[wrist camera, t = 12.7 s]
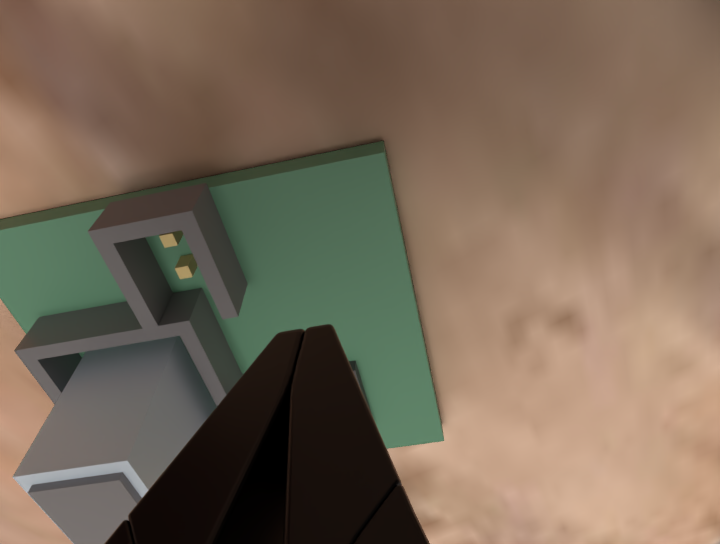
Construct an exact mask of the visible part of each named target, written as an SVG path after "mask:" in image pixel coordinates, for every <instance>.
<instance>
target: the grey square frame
mask: <svg viewBox="0 0 720 544" xmlns="http://www.w3.org/2000/svg"><path fill="white" fill-rule="evenodd" d="M175 336H180V337H181V339H182V341H183V342H184V344H185V346H186V348H187V350H188V352H189V354H190V356H191V358H192V360H193V362H194V363H195V365H196V367H197V369H198V371H199V373H200V375H201V377H202V379H203V381H204V383H205V384H206V386H207V388H208V390H209V392H210V394H211V396H212V398H213V400H214V402H215V404H216V405H217V406H218V405H219V403H220V402H221V401H222V400H223V398H224V397H225V396H226V395H227V394H228V392H229V391H230V390H231V389H232V387H233V386H234V385H235V384H236V383H237V381H238V380H239V379H240V378H241V376H242V373H241V370H240V368H239V366H238V364H237V362H236V360H235V358H234V355H233V353H232V351H231V349H230V347H229V345H228V342H227V340H226V338H225V336H224V334H223V332H222V330H221V327H220V325H219V323H218V321H217V319H216V317H215V315H214V312H213V310H212V308H211V306H210V304H209V302H208V300H207V297H206V295H205V293H204V291H203V289H202V288H198V289H192V290H187V291H181V292H176V293H173V294H172V297H171V299H170V301H169V303H168V305H167V307H166V310H165V312H164V314H163V316H162V318H161V321H160V323H159V325H158V326H155V327H149V328H142V327H141V325H140V323H139V321H138V320H137V318H136V316H135V314H134V313H133V311H132V309H131V307H130V305H129V304H128V302H127V301H125V302H120V303H114V304H109V305H103V306H98V307H92V308H86V309H81V310H75V311H70V312H64V313H59V314H53V315H47V316H42V317H39V318H38V319H37V320H36V322H35V323H34V325H33V326H32V327H31V329H30V330H29V331H28V333H27V334H26V335H25V337H24V338H23V339H22V341H21V342H20V344H19V345H18V346H17V348H16V349H15V350H14V351H15V352H16V354H17V355H18V356H19V358H20V359H21V360H22V362H23V363H24V364H25V366H26V367H27V368H28V370H29V371H30V372H31V374H32V375H33V376H34V378H35V379H36V380H37V382H38V383H39V384H40V386H41V387H42V388H43V390H44V391H45V392H46V393H47V395H48V396H49V397H50V399H51V400H52V401H53V403H54V404H56V402H57V400H58V399H59V397H60V395H61V393H62V392H63V390H64V388H65V387H66V385H67V383H68V381H69V380H70V378H71V376H72V375H73V373H74V371H75V369H76V368H77V366H78V364H79V363H80V361H81V359H82V358H81V356H80V355H79V353H80V352H86V351H92V350H98V349H104V348H110V347H116V346H122V345H127V344H133V343H139V342H145V341H151V340H157V339H163V338H169V337H175Z"/></svg>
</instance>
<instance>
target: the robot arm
mask: <svg viewBox="0 0 720 544" xmlns="http://www.w3.org/2000/svg"><path fill="white" fill-rule="evenodd" d="M128 520H129V521H128ZM128 520H124V521H123V522H122V523H121V524H120V525H119V526H118V528H117V529H116V530H115V531H114V532H113V534H112V535H111V536H110V537H109V539H108V540H107V541H106V542H105V543H104V544H430V543H429V541H428V539H427V537H426V535H425V533H424V531H423V529H422V527H421V525H420V522H419V520H418V518H417V516H416V514H415V512H414V510H413V508H412V505H411V503H410V501H409V498H408V496H407V494H406V491H405V489H404V487H403V486H402V484H401V481H400V478H399V476H398V474H397V471H396V469H395V467H394V465H393V462H392V460H391V458H390V455H389V453H388V451H387V448H386V446H385V444H384V441H383V439H382V437H381V435H380V432H379V430H378V428H377V425H376V423H375V421H374V418H373V416H372V414H371V412H370V409H369V407H368V405H367V402H366V400H365V398H364V395H363V393H362V391H361V388H360V386H359V384H358V382H357V379H356V377H355V375H354V372H353V370H352V368H351V365H350V363H349V361H348V358H347V356H346V354H345V352H344V349H343V347H342V345H341V342H340V340H339V338H338V335H337V333H336V331H335V329H334V327H333V325H331V324H325V325H319V326H313V327H309V328H307V329H306V330H303V329H295V330H289V331H283V332H279V333H277V334H276V335H275V336H274V337H273V339H272V340H271V341H270V342H269V343H268V345H267V346H266V347H265V348H264V350H263V351H262V352H261V353H260V354H259V356H258V357H257V358H256V359H255V361H254V362H253V363H252V364H251V365H250V367H249V368H248V369H247V370H246V372H245V373H244V374H243V375H242V376H241V378H240V379H239V380H238V381H237V383H236V384H235V385H234V386H233V387H232V389H231V390H230V391H229V392H228V394H227V395H226V396H225V397H224V398H223V400H222V401H221V402H220V403H219V405H218V406H217V407H216V408H215V409H214V411H213V412H212V413H211V414H210V416H209V417H208V418H207V419H206V420H205V422H204V423H203V424H202V425H201V427H200V428H199V429H198V430H197V431H196V433H195V434H194V435H193V436H192V438H191V439H190V440H189V441H188V442H187V444H186V445H185V446H184V447H183V449H182V450H181V451H180V452H179V453H178V455H177V456H176V457H175V458H174V460H173V461H172V462H171V463H170V464H169V466H168V467H167V468H166V469H165V470H164V472H163V473H162V474H161V475H160V477H159V478H158V479H157V480H156V481H155V483H154V484H153V485H152V486H151V488H150V489H149V490H148V491H147V492H146V494H145V495H144V496H143V497H142V499H141V500H140V501H139V502H138V503H137V505H136V506H135V507H134V508H133V510H132V511H131V512H130V513H129V515H128Z"/></svg>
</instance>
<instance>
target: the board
mask: <svg viewBox="0 0 720 544" xmlns="http://www.w3.org/2000/svg"><path fill="white" fill-rule="evenodd" d="M198 288H202V289H203V291H204V293H205V295H206V297H207V300H208V302H209V304H210V306H211V308H212V310H213V312H214V315H215V317H216V319H217V321H218V323H219V325H220V327H221V330H222V332H223V334H224V336H225V338H226V340H227V342H228V345H229V347H230V349H231V351H232V353H233V355H234V358H235V360H236V362H237V364H238V366H239V368H240V370H241V373H242V375H243V374H244V373H245V372H246V370H247V369H248V368H249V367H250V365H251V364H252V363H253V362H254V361H255V359H256V358H257V357H258V356H259V354H260V353H261V352H262V351H263V350H264V348H265V347H266V346H267V345H268V343H269V342H270V341H271V340H272V339H273V337H274V336H275V335H276V334H277V333H279V332H283V331H289V330H295V329H303V330H306V329H307V328H309V327H313V326H319V325H325V324H331V325H333V327H334V329H335V331H336V333H337V335H338V338H339V340H340V342H341V345H342V347H343V349H344V352H345V354H346V356H347V358H348V361H349V363H350V365H351V368H352V370H353V372H354V375H355V377H356V379H357V382H358V384H359V386H360V388H361V391H362V393H363V395H364V398H365V400H366V402H367V405H368V407H369V409H370V412H371V414H372V416H373V418H374V421H375V423H376V425H377V428H378V430H379V432H380V435H381V437H382V439H383V441H384V444H385V446H386V448H387V449H388V448H395V447H403V446H410V445H417V444H425V443H432V442H439V441H444V437H443V430H442V423H441V418H440V413H439V408H438V404H437V399H436V394H435V389H434V384H433V379H432V374H431V369H430V365H429V360H428V355H427V350H426V345H425V340H424V335H423V331H422V326H421V321H420V316H419V311H418V306H417V301H416V296H415V292H414V287H413V282H412V277H411V272H410V267H409V262H408V257H407V253H406V248H405V243H404V238H403V233H402V228H401V223H400V219H399V214H398V209H397V204H396V199H395V194H394V189H393V184H392V180H391V175H390V170H389V165H388V160H387V155H386V150H385V145H384V141H380V142H375V143H371V144H366V145H361V146H356V147H351V148H346V149H341V150H336V151H332V152H327V153H322V154H317V155H312V156H307V157H302V158H297V159H293V160H288V161H283V162H278V163H273V164H268V165H263V166H258V167H254V168H249V169H244V170H239V171H234V172H229V173H224V174H219V175H215V176H210V177H205V178H200V179H195V180H190V181H185V182H181V183H176V184H171V185H166V186H161V187H156V188H151V189H146V190H142V191H137V192H132V193H127V194H122V195H117V196H112V197H107V198H103V199H98V200H93V201H88V202H83V203H78V204H73V205H68V206H64V207H59V208H54V209H49V210H44V211H39V212H34V213H29V214H25V215H20V216H15V217H10V218H5V219H0V298H1V300H2V301H3V303H4V304H5V305H6V307H7V308H8V310H9V311H10V312H11V314H12V315H13V316H14V318H15V319H16V321H17V322H18V323H19V325H20V326H21V327H22V329H23V330H24V332H25V333H26V334H27V333H28V331H29V330H30V329H31V327H32V326H33V325H34V323H35V322H36V320H37V319H38V318H39V317H42V316H47V315H53V314H59V313H64V312H70V311H75V310H81V309H86V308H92V307H98V306H103V305H109V304H114V303H120V302H125V301H127V302H128V304H129V305H130V307H131V309H132V311H133V313H134V314H135V316H136V318H137V320H138V321H139V323H140V325H141V327H142V328H149V327H155V326H158V325H159V323H160V321H161V318H162V316H163V314H164V312H165V310H166V307H167V305H168V303H169V301H170V299H171V297H172V294H173V293H176V292H181V291H187V290H192V289H198ZM180 338H181V337H180ZM181 340H182V339H181ZM182 342H183V341H182ZM183 344H184V342H183ZM184 346H185V344H184ZM185 347H186V346H185ZM186 349H187V348H186ZM187 351H188V350H187ZM188 353H189V352H188ZM84 354H85V352H80V353H79V355H80V356H81V358H82V357H83V356H84ZM189 355H190V354H189ZM190 357H191V356H190ZM191 359H192V358H191ZM192 361H193V360H192ZM193 363H194V362H193ZM194 364H195V363H194ZM195 366H196V365H195ZM196 368H197V367H196ZM197 370H198V369H197ZM198 372H199V371H198ZM199 374H200V373H199ZM200 376H201V375H200ZM201 378H202V377H201ZM202 380H203V379H202ZM205 385H206V384H205ZM206 387H207V386H206ZM207 389H208V388H207ZM208 391H209V390H208ZM209 393H210V392H209ZM210 395H211V394H210ZM216 406H217V405H216Z"/></svg>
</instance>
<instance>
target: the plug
mask: <svg viewBox="0 0 720 544" xmlns="http://www.w3.org/2000/svg"><path fill="white" fill-rule="evenodd" d="M216 407H217V406H216V404H215V402H214V400H213V398H212V396H211V395H210V393H209V391H208V389H207V387H206V385H205V383H204V381H203V380H202V378H201V376H200V374H199V372H198V370H197V368H196V366H195V364H194V363H193V361H192V359H191V357H190V355H189V353H188V351H187V349H186V347H185V346H184V344H183V342H182V340H181V338H180V336H175V337H169V338H163V339H157V340H151V341H145V342H139V343H133V344H127V345H122V346H116V347H110V348H104V349H98V350H92V351H86V352H85V354H84V356H83V357H82V359H81V361H80V363H79V364H78V366H77V368H76V369H75V371H74V373H73V375H72V376H71V378H70V380H69V381H68V383H67V385H66V387H65V388H64V390H63V392H62V393H61V395H60V397H59V399H58V400H57V402H56V404H55V405H54V407H53V409H52V410H51V412H50V414H49V416H48V417H47V419H46V421H45V422H44V424H43V426H42V428H41V429H40V431H39V433H38V434H37V436H36V438H35V440H34V441H33V443H32V445H31V446H30V448H29V450H28V452H27V453H26V455H25V457H24V458H23V460H22V462H21V463H20V465H19V467H18V469H17V470H16V472H15V474H14V475H13V478H14V479H15V480H16V481H17V483H18V484H19V485H20V486H21V487H22V488H23V489H24V490H25V491H26V492H27V493H28V495H29V496H30V497H31V498H32V499H33V500H34V501H35V502H36V503H37V504H38V505H39V506H40V508H41V509H42V510H43V511H44V512H45V513H46V514H47V515H48V516H49V517H50V518H51V520H52V521H53V522H54V523H55V524H56V525H57V526H58V527H59V528H60V529H61V530H62V532H63V533H64V534H65V535H66V536H67V537H68V538H69V539H70V540H71V541H72V542H73V543H74V544H104V543H105V542H106V541H107V540H108V539H109V537H110V536H111V535H112V534H113V532H114V531H115V530H116V529H117V528H118V526H119V525H120V524H121V523H122V522H123V521H124V520H128V515H129V513H130V512H131V511H132V510H133V508H134V507H135V506H136V505H137V503H138V502H139V501H140V500H141V499H142V497H143V496H144V495H145V494H146V492H147V491H148V490H149V489H150V488H151V486H152V485H153V484H154V483H155V481H156V480H157V479H158V478H159V477H160V475H161V474H162V473H163V472H164V470H165V469H166V468H167V467H168V466H169V464H170V463H171V462H172V461H173V460H174V458H175V457H176V456H177V455H178V453H179V452H180V451H181V450H182V449H183V447H184V446H185V445H186V444H187V442H188V441H189V440H190V439H191V438H192V436H193V435H194V434H195V433H196V431H197V430H198V429H199V428H200V427H201V425H202V424H203V423H204V422H205V420H206V419H207V418H208V417H209V416H210V414H211V413H212V412H213V411H214V409H215V408H216ZM128 521H129V520H128Z"/></svg>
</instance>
